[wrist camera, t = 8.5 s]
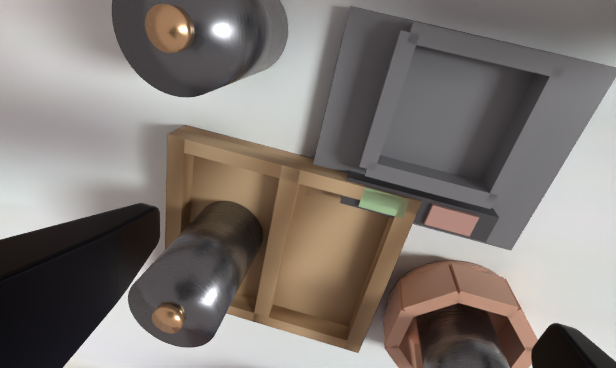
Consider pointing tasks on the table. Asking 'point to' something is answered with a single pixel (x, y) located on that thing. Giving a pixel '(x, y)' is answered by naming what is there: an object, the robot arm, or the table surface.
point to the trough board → (291, 233)
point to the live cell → (197, 276)
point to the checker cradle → (453, 123)
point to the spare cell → (199, 41)
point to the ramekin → (447, 291)
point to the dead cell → (459, 339)
